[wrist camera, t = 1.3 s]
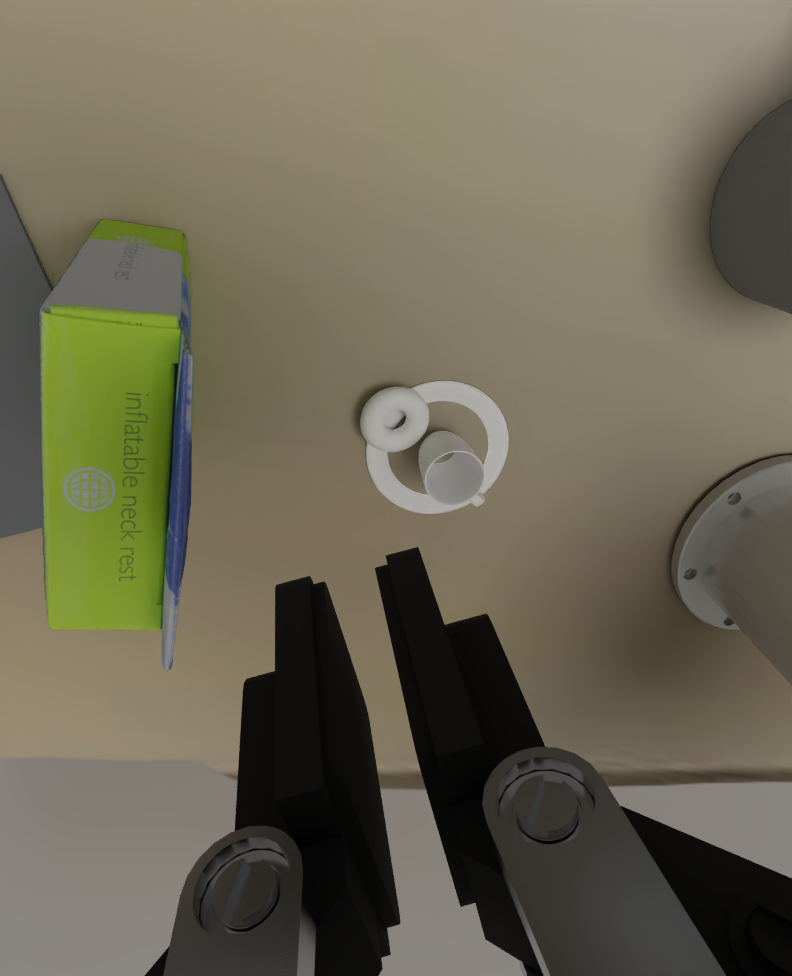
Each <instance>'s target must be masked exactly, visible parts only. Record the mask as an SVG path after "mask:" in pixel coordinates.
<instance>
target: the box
mask: <svg viewBox="0 0 792 976" xmlns="http://www.w3.org/2000/svg"><path fill="white" fill-rule="evenodd" d="M190 302H191V298H190V276H189V262H188V251H187V243H186V237H185V235H184V233H182V232H181V231H177V230H171V229H165V228H160V227H153V226H147V225H140V224H133V223H127V222H120V221H114V220H107V219H102V220H100V221H99V223H98V224H97V226H96V227H95V229H94V230H93V231H92V233H91V234H90V235H89V237H88V238H87V240H86V241H85V243H84V244H83V246H82V247H81V248H80V250H79V251H78V252H77V254H76V256H75V257H74V259H73V260H72V261H71V263H70V264H69V266H68V267H67V269H66V271H65V272H64V274H63V275H62V277H61V278H60V279H59V281H58V283H57V284H56V286H55V287H54V289H53V291H52V292H51V293H50V295H49V296H48V297H47V299H46V300H45V302H44V303H43V305H42V307H41V309H40V311H39V372H40V429H41V479H42V520H43V554H44V583H45V597H46V607H47V617H48V625H49V628H50V629H51V630H162V662H163V667H164V669H165V670H166V671H169V670H171V667H172V662H173V652H174V643H175V633H176V624H177V615H178V607H179V600H180V592H181V584H182V577H183V571H184V565H185V557H186V548H187V539H188V525H189V514H190V506H191V450H192V388H193V355H192V349H191V344H190V330H191V312H190Z"/></svg>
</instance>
